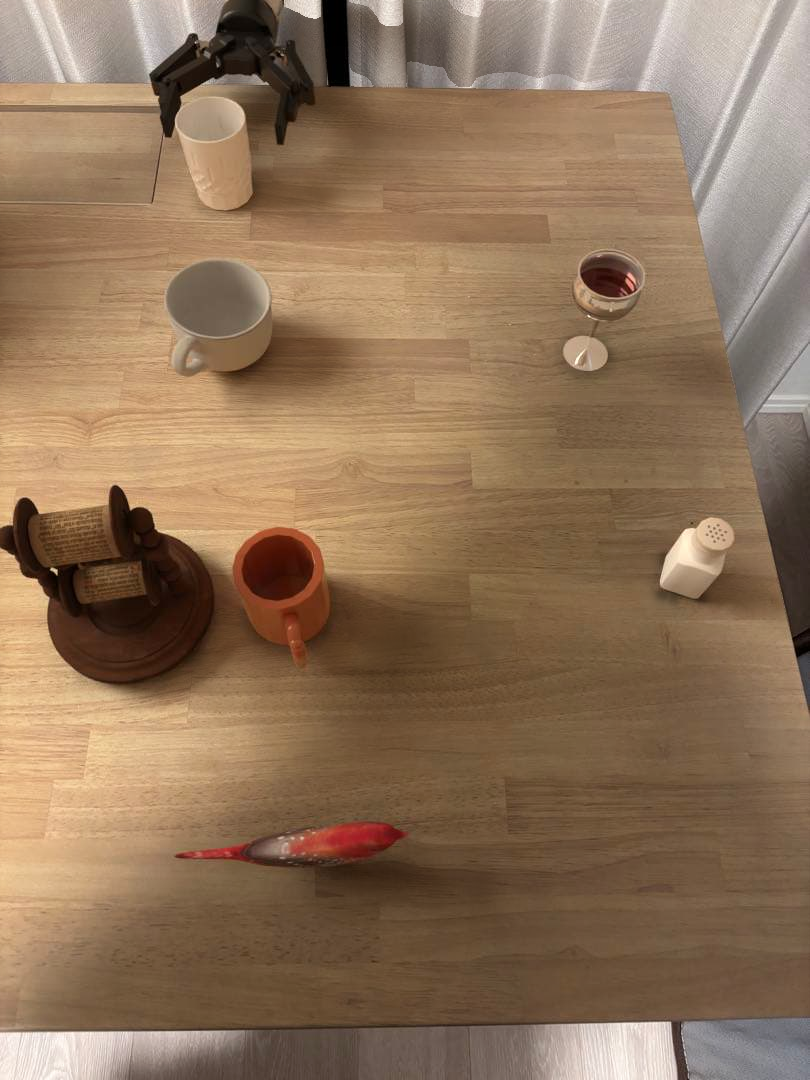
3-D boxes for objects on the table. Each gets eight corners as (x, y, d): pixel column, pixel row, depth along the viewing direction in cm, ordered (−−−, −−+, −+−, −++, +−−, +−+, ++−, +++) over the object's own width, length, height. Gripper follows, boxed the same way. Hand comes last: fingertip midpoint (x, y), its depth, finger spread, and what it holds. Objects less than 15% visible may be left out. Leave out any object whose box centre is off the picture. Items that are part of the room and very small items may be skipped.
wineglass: (573, 385, 89) (598, 308, 79) (544, 340, 92) (564, 260, 81) (627, 365, 91) (659, 287, 80) (596, 322, 94) (623, 240, 83)
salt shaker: (697, 602, 78) (735, 560, 70) (656, 589, 79) (688, 545, 70) (705, 566, 80) (743, 521, 72) (665, 553, 81) (697, 507, 72)
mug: (242, 580, 79) (225, 538, 70) (319, 561, 80) (312, 518, 72) (264, 686, 74) (248, 654, 66) (346, 664, 75) (341, 630, 67)
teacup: (225, 294, 94) (211, 240, 87) (299, 338, 92) (291, 286, 85) (140, 373, 89) (118, 323, 82) (216, 422, 87) (200, 374, 79)
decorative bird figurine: (408, 864, 68) (411, 851, 59) (190, 883, 67) (159, 872, 58) (405, 827, 69) (408, 809, 60) (191, 845, 68) (161, 829, 59)
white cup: (193, 171, 103) (175, 97, 94) (257, 168, 104) (244, 94, 95) (193, 216, 100) (174, 144, 91) (259, 212, 100) (246, 140, 91)
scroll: (212, 531, 81) (161, 413, 63) (223, 675, 74) (170, 588, 56) (58, 553, 79) (-39, 439, 62) (56, 702, 73) (-53, 622, 55)
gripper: (346, 56, 111) (328, 165, 101) (162, 44, 111) (127, 151, 102) (343, -2, 104) (324, 109, 95) (147, -14, 105) (108, 95, 95)
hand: (222, 131), depth 98 cm, fingers open, 13 cm apart
